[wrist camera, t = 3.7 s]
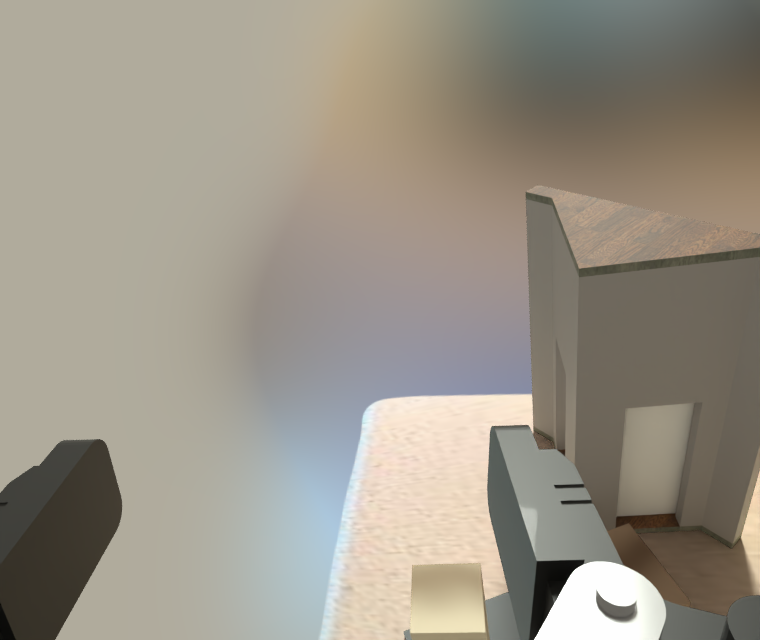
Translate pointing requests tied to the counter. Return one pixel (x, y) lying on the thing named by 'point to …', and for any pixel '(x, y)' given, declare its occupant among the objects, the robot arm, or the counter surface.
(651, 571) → the base block
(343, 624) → the counter surface
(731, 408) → the cabinet
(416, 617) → the pillar
